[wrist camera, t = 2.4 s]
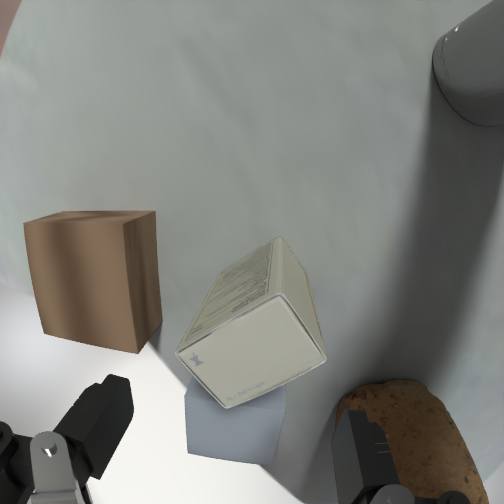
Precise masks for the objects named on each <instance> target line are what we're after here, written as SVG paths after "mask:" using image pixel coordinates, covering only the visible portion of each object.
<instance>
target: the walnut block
mask: <svg viewBox="0 0 504 504" xmlns="http://www.w3.org/2000/svg"><path fill="white" fill-rule="evenodd" d="M23 224H24V233H25V242H26V249H27V256H28V262H29V268H30V274H31V279H32V285H33V289H34V294H35V299H36V303H37V307H38V312H39V316H40V320H41V324H42V327H43V331H44V334H48V335H51V336H55V337H59V338H64V339H67V340H72V341H76V342H80V343H85V344H90V345H94V346H99V347H104V348H109V349H114V350H119V351H124V352H130V353H136V354H139V352H140V351H141V349H142V348H143V347H144V345H145V344H146V343H147V341H148V340H149V338H150V337H151V336H152V334H153V333H154V332H155V330H156V329H157V327H158V326H159V325H160V323H161V322H162V321H163V319H162V309H161V298H160V287H159V274H158V259H157V241H156V217H155V211H63V212H60V213H56V214H53V215H49V216H46V217H42V218H39V219H36V220H33V221H29V222H26V223H23Z"/></svg>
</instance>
